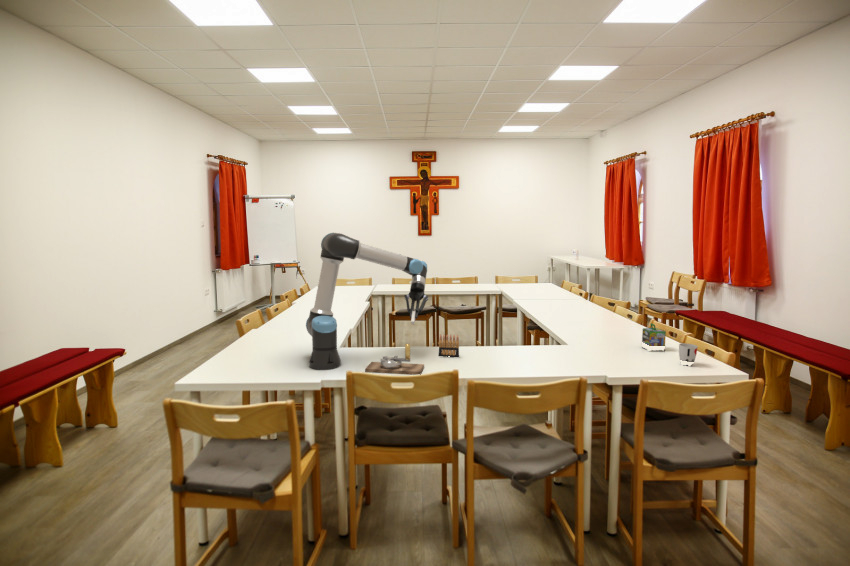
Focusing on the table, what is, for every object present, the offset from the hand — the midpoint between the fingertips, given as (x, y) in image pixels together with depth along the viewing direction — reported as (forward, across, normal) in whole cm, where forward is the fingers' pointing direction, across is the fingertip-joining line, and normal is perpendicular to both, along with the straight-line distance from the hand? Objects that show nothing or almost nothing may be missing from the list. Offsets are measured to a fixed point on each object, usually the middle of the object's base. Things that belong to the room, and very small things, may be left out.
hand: (412, 323), depth 239 cm
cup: (+4, -137, -24) cm, 139 cm away
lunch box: (-17, -130, -45) cm, 138 cm away
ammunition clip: (+7, -18, -20) cm, 28 cm away
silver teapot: (+25, +5, 0) cm, 25 cm away
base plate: (+26, +6, -1) cm, 27 cm away
